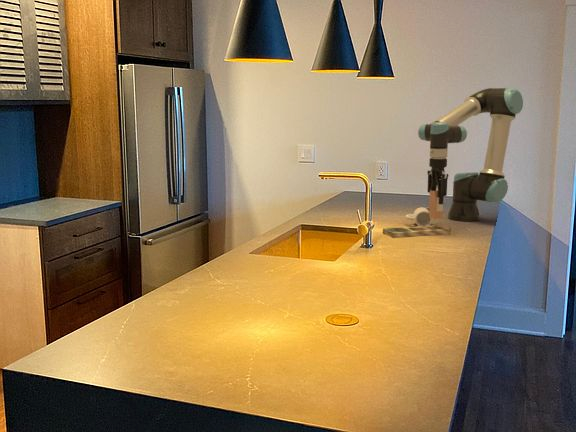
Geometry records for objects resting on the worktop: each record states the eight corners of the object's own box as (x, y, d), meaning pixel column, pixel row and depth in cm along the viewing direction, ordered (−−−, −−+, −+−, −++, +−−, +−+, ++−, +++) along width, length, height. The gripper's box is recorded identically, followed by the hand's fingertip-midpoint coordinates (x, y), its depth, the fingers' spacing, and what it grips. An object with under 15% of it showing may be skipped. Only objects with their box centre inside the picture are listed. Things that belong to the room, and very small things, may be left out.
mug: (429, 223, 312) (430, 207, 311) (432, 228, 302) (433, 211, 301) (404, 223, 313) (405, 206, 312) (405, 227, 304) (406, 210, 302)
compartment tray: (437, 229, 299) (438, 224, 298) (450, 234, 290) (450, 229, 289) (382, 232, 290) (383, 228, 289) (393, 237, 281) (393, 232, 280)
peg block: (437, 216, 295) (438, 190, 292) (443, 218, 290) (444, 191, 288) (428, 217, 293) (429, 190, 291) (434, 219, 289) (435, 192, 287)
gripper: (420, 156, 293) (418, 207, 298) (441, 160, 277) (439, 214, 282) (435, 155, 296) (433, 206, 300) (457, 159, 280) (454, 213, 284)
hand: (436, 210), depth 291 cm, fingers closed on peg block, 4 cm apart
